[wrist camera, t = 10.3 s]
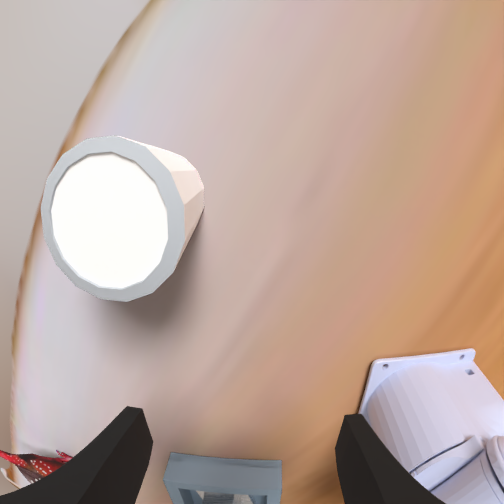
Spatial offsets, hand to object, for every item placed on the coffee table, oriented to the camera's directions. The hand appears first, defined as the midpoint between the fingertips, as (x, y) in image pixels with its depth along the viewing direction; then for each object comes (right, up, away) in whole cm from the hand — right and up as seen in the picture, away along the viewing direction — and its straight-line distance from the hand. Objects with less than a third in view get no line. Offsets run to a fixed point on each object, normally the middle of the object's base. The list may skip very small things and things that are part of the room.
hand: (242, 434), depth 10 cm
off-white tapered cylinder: (-5, +10, +8) cm, 14 cm away
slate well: (-2, -18, +17) cm, 25 cm away
